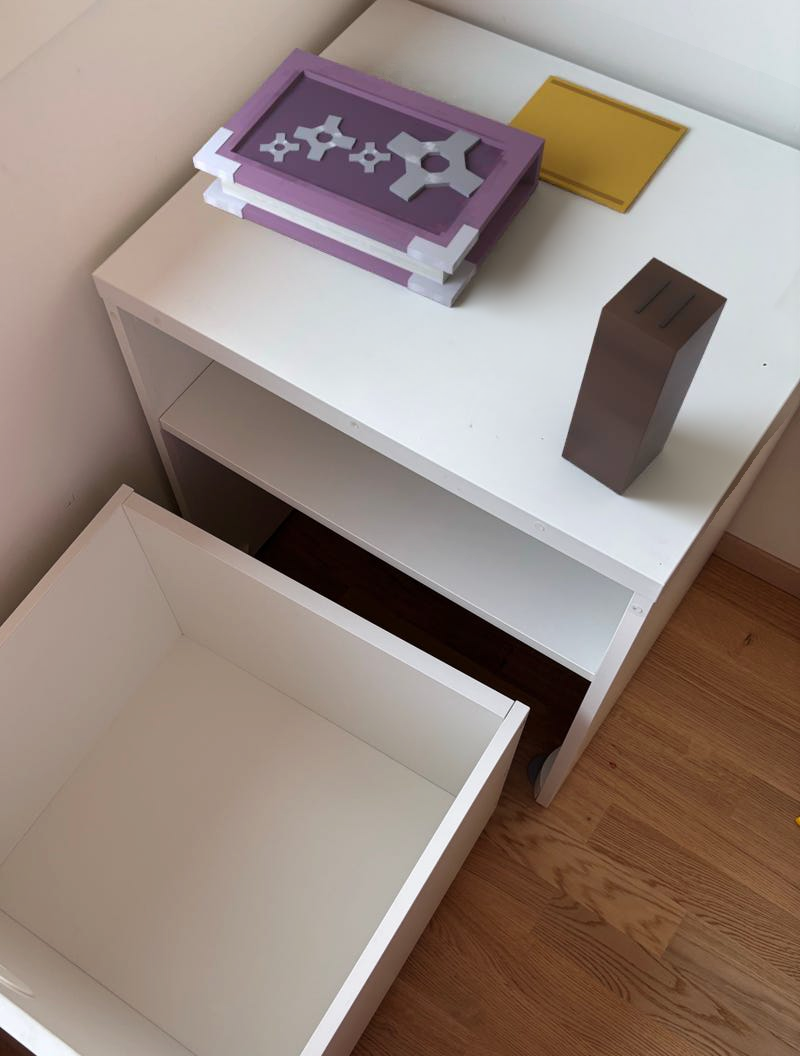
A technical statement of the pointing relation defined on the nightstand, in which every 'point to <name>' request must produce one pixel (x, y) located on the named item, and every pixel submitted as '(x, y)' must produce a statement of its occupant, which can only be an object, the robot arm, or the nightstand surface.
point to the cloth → (596, 142)
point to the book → (372, 173)
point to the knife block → (639, 372)
